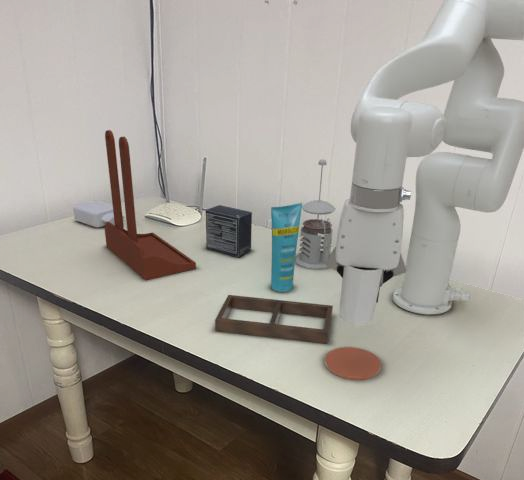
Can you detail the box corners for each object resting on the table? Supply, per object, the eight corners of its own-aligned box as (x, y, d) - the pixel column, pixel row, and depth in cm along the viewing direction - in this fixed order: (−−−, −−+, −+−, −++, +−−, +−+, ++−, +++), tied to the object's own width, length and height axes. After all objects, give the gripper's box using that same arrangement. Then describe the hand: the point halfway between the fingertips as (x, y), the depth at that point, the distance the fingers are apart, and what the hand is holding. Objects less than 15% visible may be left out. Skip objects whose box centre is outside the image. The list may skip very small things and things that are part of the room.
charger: (109, 233, 155) (75, 221, 162) (135, 225, 161) (100, 214, 169) (107, 217, 152) (72, 205, 160) (133, 209, 159) (98, 198, 166)
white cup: (339, 305, 100) (347, 252, 95) (377, 312, 98) (386, 258, 93) (333, 322, 94) (340, 266, 89) (373, 329, 93) (383, 273, 88)
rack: (331, 316, 117) (332, 305, 116) (327, 343, 107) (328, 332, 106) (228, 305, 120) (228, 294, 119) (215, 331, 110) (215, 319, 109)
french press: (324, 252, 148) (333, 153, 135) (343, 269, 138) (355, 165, 125) (289, 255, 145) (295, 155, 132) (306, 273, 136) (314, 167, 123)
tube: (274, 295, 125) (278, 210, 115) (262, 287, 128) (265, 203, 118) (301, 288, 128) (307, 205, 118) (289, 280, 132) (294, 199, 122)
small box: (252, 250, 147) (253, 211, 142) (238, 258, 142) (238, 217, 137) (220, 242, 152) (219, 203, 147) (205, 249, 147) (204, 209, 142)
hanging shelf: (195, 268, 136) (191, 138, 120) (145, 280, 129) (133, 144, 114) (153, 238, 153) (144, 120, 137) (106, 247, 146) (91, 124, 131)
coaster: (380, 353, 105) (381, 350, 105) (380, 383, 96) (381, 380, 96) (327, 347, 106) (327, 344, 106) (322, 376, 98) (323, 373, 97)
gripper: (428, 193, 88) (408, 299, 97) (323, 185, 90) (314, 290, 99) (431, 207, 81) (410, 319, 91) (319, 198, 84) (310, 309, 93)
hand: (360, 303), depth 95 cm, fingers closed on white cup, 2 cm apart
